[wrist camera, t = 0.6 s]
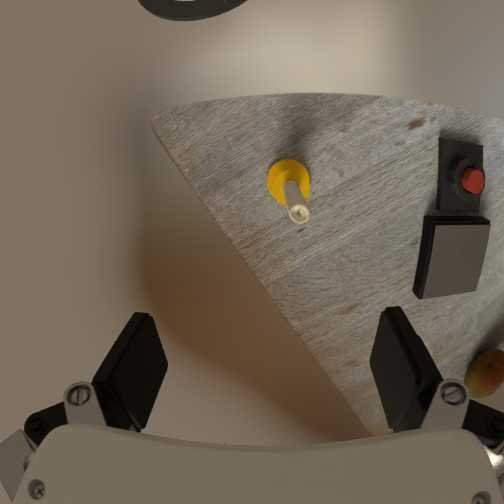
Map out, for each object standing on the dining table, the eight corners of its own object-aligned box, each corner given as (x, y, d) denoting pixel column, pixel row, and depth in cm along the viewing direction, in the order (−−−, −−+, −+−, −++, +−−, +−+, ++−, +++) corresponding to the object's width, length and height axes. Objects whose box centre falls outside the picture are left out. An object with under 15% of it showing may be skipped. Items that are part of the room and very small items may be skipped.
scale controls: (438, 137, 29) (450, 139, 27) (478, 144, 29) (490, 146, 26) (435, 208, 33) (446, 215, 30) (474, 209, 32) (485, 215, 30)
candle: (275, 206, 35) (278, 260, 21) (260, 167, 33) (250, 194, 19) (315, 192, 34) (346, 237, 20) (300, 152, 32) (324, 168, 18)
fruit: (497, 332, 41) (519, 360, 32) (494, 363, 45) (511, 390, 36) (457, 359, 44) (476, 392, 35) (457, 387, 48) (472, 417, 39)
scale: (423, 215, 34) (433, 222, 31) (481, 216, 33) (492, 222, 30) (412, 291, 38) (419, 301, 36) (467, 284, 37) (476, 293, 35)
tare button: (461, 166, 28) (469, 168, 26) (477, 168, 28) (485, 170, 26) (460, 190, 29) (467, 193, 28) (476, 191, 29) (483, 194, 27)
